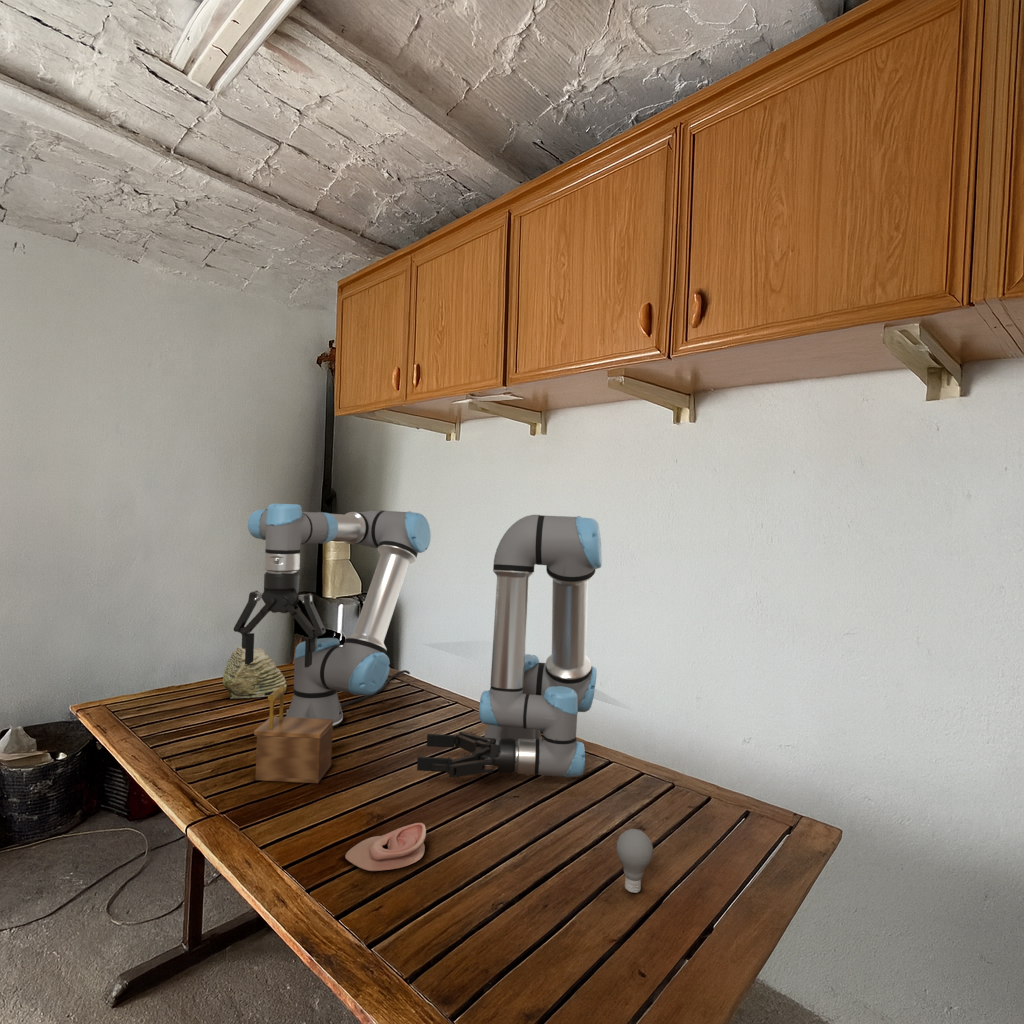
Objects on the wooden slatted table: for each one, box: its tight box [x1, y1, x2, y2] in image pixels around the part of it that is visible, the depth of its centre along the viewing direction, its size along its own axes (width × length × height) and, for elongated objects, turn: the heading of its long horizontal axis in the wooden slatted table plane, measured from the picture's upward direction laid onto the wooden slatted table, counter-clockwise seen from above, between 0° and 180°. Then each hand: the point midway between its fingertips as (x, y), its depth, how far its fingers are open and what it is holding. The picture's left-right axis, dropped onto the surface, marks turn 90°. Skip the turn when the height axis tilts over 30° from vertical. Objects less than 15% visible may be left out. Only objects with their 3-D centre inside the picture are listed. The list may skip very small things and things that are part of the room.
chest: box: [255, 724, 334, 784], centre depth 145 cm, size 14×9×10 cm
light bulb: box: [615, 828, 654, 894], centre depth 106 cm, size 6×6×10 cm
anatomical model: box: [344, 822, 427, 872], centre depth 113 cm, size 13×4×12 cm
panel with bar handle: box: [253, 686, 333, 739], centre depth 144 cm, size 15×9×9 cm, turn 89°
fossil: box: [222, 646, 288, 699], centre depth 198 cm, size 9×18×15 cm, turn 132°
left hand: (278, 664), depth 144 cm, fingers open, 13 cm apart
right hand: (422, 751), depth 144 cm, fingers open, 13 cm apart
